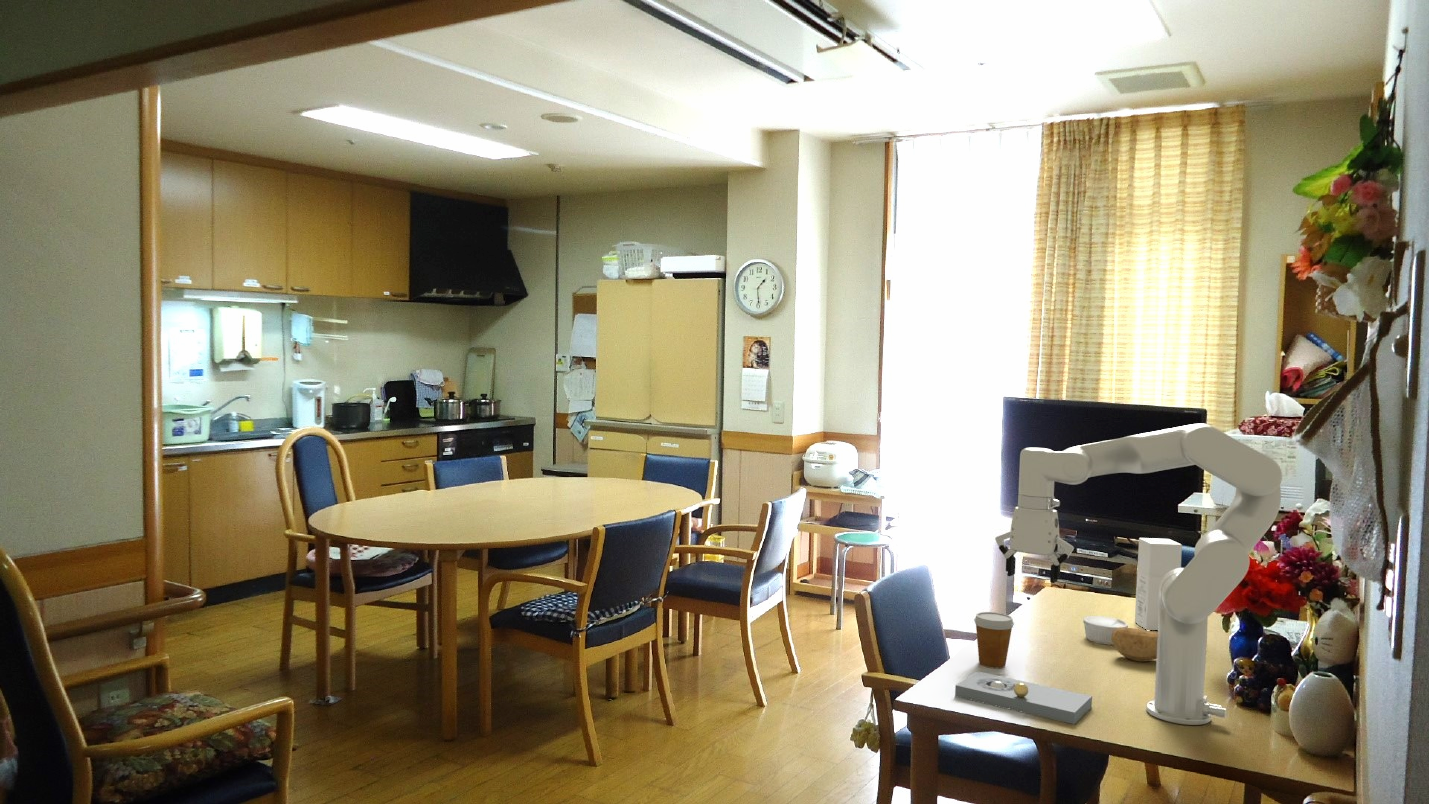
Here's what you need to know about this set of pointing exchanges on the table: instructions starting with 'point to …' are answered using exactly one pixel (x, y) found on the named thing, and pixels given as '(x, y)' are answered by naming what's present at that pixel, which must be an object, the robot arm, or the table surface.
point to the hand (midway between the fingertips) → (1032, 578)
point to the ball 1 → (997, 684)
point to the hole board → (1035, 702)
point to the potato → (1135, 643)
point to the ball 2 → (1021, 690)
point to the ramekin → (1101, 628)
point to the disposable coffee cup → (993, 638)
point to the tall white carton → (1153, 577)
